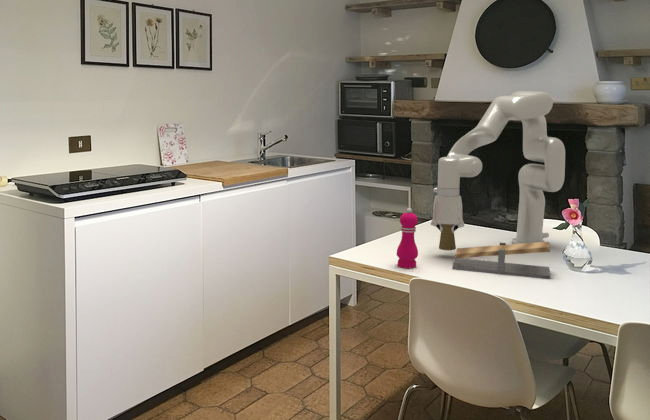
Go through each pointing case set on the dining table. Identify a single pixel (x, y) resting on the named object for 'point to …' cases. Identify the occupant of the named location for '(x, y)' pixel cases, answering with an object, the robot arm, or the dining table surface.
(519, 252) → the beam
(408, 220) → the pepper mill
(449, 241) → the cork
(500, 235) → the dining table surface
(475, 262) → the stand
